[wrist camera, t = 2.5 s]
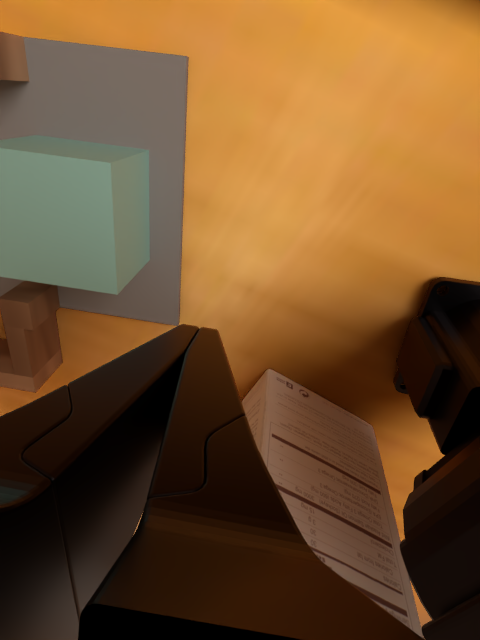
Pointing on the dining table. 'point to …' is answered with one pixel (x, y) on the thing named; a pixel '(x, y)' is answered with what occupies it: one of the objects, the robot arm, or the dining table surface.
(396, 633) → the robot arm
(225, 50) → the dining table surface
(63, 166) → the block
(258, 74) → the dining table surface
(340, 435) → the supplement box
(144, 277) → the grey board
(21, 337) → the tunnel
